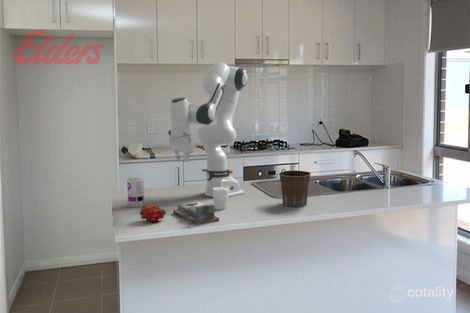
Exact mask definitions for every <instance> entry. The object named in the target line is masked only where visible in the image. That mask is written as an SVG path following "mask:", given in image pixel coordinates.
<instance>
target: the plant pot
mask: <svg viewBox="0 0 470 313" xmlns="http://www.w3.org/2000/svg"><path fill="white" fill-rule="evenodd" d="M311 175H312V173H311V172H310V171H305V170H295V169H294V170H284V171H280V172H278V176H279V182H280V186H281V187H280V188H281V197H282V198H281V199H282V205H283V204H284V205H283V206H285V205H287V206H286V207H290V206H294V207H297V206H302V207H304V205H305V206H306V205H307V204H308V196H309V194H308V193H309V182H310V179H311Z"/></svg>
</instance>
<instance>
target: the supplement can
mask: <svg viewBox="0 0 470 313" xmlns="http://www.w3.org/2000/svg"><path fill="white" fill-rule="evenodd" d="M126 180H127V181H126V182H127V202H128V203H127V204H128V206H129V207H130V208H141V207H142V208H143V207H144V206H145V205H146V204H145V200H146V199H145V180H144V177H143V176H142V175H130V176H128V178H127V179H126Z"/></svg>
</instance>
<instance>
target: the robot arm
mask: <svg viewBox="0 0 470 313" xmlns="http://www.w3.org/2000/svg"><path fill="white" fill-rule="evenodd" d="M248 80H249V75H248V72H247V70H246V69H244V68H241V67H235V66H232V65H231V66H230V65H227V64H226V63H225V62H223V61H219V62H216V63H215V64H213V65H212V66H211V67H210V68H209V69H208V71H207V72H206V73H205V74H204V75H203V77H202V79H201V88H202V89H203V91H204V92H205V93H206V94H208V96H209V98H208V100H207V101H206V102H205V103H192V102H190V101H188V99H187V98H186V97H177V98H176V97H175V98H174V99H172V100H171V101H170V106H169V107H170V108H169V115H170V120H171V125H170V128H169V129H168V130H167V134H168V139H169V140H168V141H169V147H170V149H171V150H174V156H175V158H176V160H181V155H180V152H181V153H183V155H184V158H183V161H184V162H185V163H188V162H189V161H190V155H191V154H193V153H194V152H195V149H194V148H195V147H194V140H193V138H192V136H191V130H190V129H191V128H190V125H191V124H198V125H199V124H200V125H202V126H200V127H199V128H198V129H197V131H196V132H197V133H196V134H197V135H196V136H197V140H198V141H200V143H201V145H203V146H202V147H203V149H204V152H205V156H206V173H205V174H206V187H205V192H204V195H205V196H207V197H211V198H212V197H213V188H215V187H228V188H229V197H233V196H238V195H242V194H243V195H244V194H245V190H243V189H241V184H240V182H239V181H238V180H237V179H236V178H234V177H233V176H231V175H232V174H234V171H233V170H232V169H228V163H227V162H228V157H227V154H226V153H225V152H224V151H223V149H222V147H221V146H225V147H226V146H231V145H233V144H234V143H235V141H236V138H237V132H236V130H235V128H234V125H233V119H234V115H235V112H236V109H237V105H238V103H239V102H238V101H239V96H240V91H241V90H242V89H244V87H245V86H246V85H247V83H248ZM215 118H216V123H215V124H212V123H213V122H214V120H215Z"/></svg>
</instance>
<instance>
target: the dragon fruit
mask: <svg viewBox="0 0 470 313" xmlns="http://www.w3.org/2000/svg"><path fill="white" fill-rule="evenodd" d="M139 214H140V219H141V220H146V222H149V223H151V222H154V223H160V222H161V221H162V220H161V219H163V218H164V217H165V215H167V211H166V210H165V209H162V208H161V207H160V206H158V205H156V204H155V205H154V204H145V205H144V206H142V208H141V209H140V212H139Z"/></svg>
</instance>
